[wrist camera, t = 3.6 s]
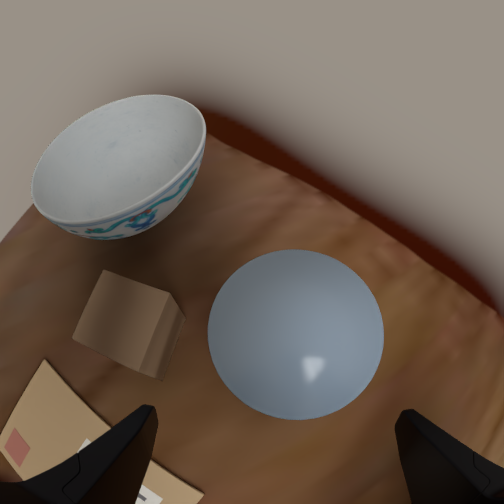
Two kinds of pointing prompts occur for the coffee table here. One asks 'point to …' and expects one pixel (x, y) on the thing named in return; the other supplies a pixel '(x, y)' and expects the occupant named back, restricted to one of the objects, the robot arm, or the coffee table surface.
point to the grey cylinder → (295, 334)
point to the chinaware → (120, 167)
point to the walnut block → (131, 324)
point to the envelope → (71, 437)
